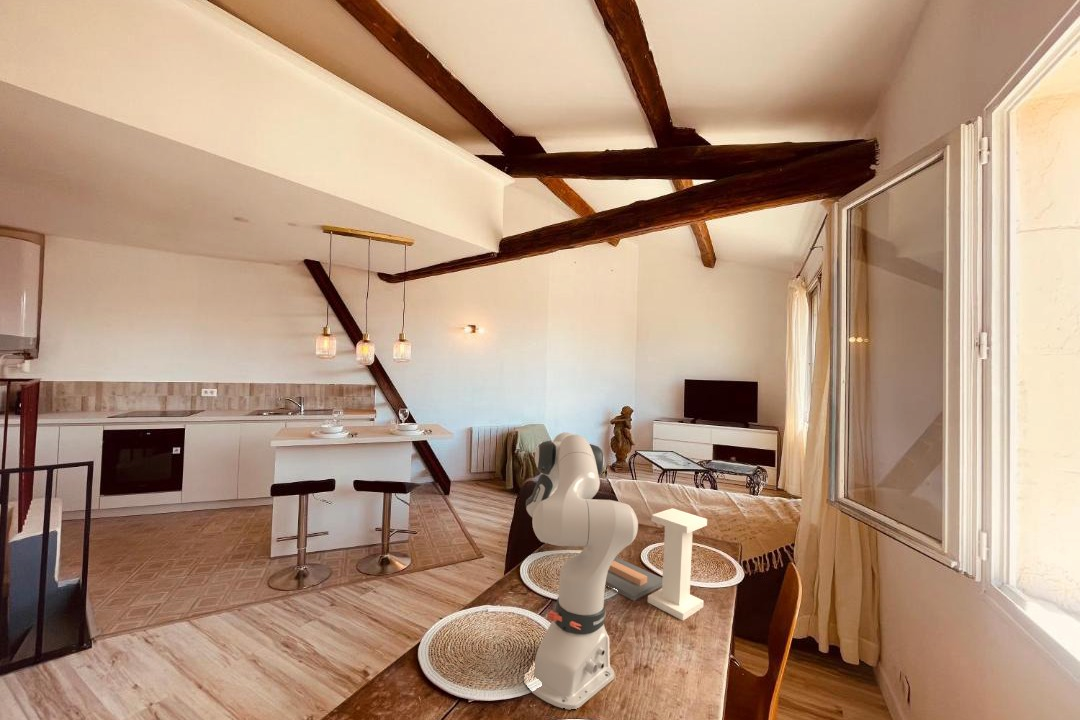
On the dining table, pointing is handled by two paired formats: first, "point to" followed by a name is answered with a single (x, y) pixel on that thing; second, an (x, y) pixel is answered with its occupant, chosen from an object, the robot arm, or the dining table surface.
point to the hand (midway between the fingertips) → (602, 526)
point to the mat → (629, 587)
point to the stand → (677, 563)
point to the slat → (628, 573)
